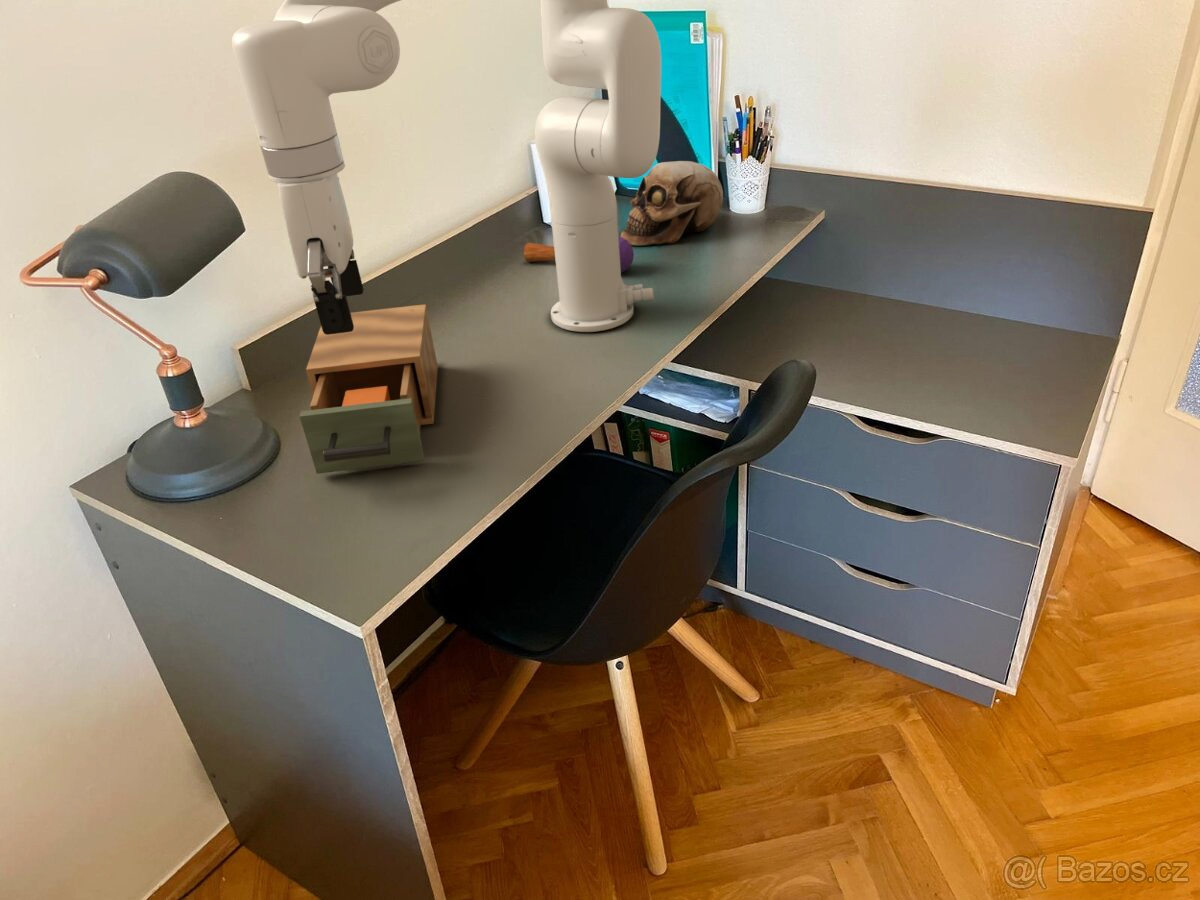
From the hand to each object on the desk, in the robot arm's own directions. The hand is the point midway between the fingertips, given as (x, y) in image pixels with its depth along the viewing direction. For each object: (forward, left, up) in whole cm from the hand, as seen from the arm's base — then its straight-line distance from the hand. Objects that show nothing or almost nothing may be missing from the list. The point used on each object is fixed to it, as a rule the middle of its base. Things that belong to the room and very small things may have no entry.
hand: (344, 312), depth 100 cm
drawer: (0, +1, -17) cm, 17 cm away
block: (0, 0, -16) cm, 16 cm away
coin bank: (-48, -63, -18) cm, 81 cm away
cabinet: (0, -12, -18) cm, 22 cm away
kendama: (-30, -51, -18) cm, 62 cm away
